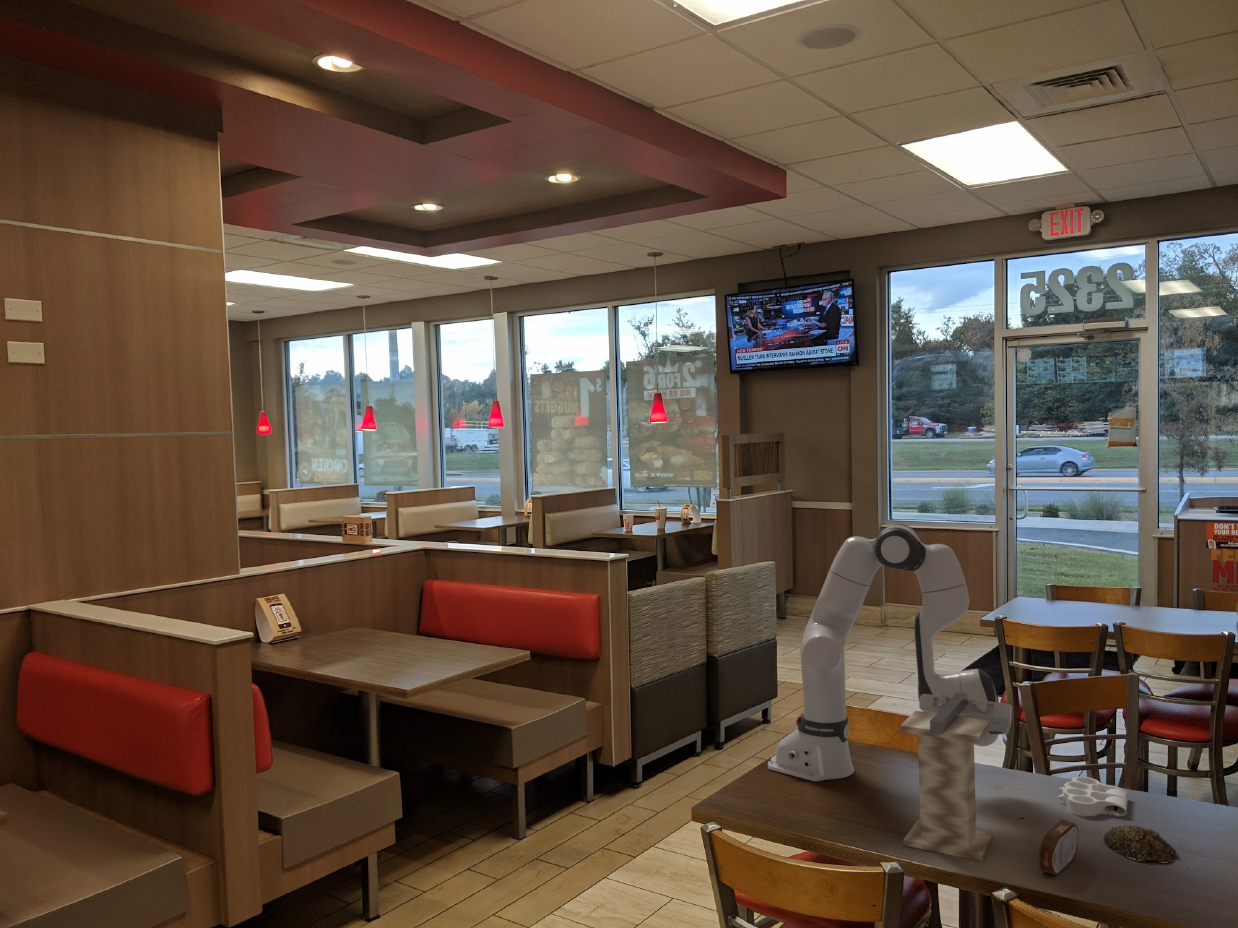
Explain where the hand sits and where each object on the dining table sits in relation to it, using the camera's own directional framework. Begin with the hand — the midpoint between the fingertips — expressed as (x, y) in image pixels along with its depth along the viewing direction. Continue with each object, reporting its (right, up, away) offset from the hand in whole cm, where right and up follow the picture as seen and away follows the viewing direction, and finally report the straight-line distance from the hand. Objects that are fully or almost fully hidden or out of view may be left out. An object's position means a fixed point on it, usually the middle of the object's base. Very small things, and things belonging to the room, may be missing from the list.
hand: (958, 699), depth 208 cm
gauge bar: (-5, -2, -7) cm, 9 cm away
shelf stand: (-6, -28, -10) cm, 31 cm away
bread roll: (+32, -28, -16) cm, 45 cm away
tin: (+12, -28, -23) cm, 38 cm away
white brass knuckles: (+34, -27, +8) cm, 44 cm away
